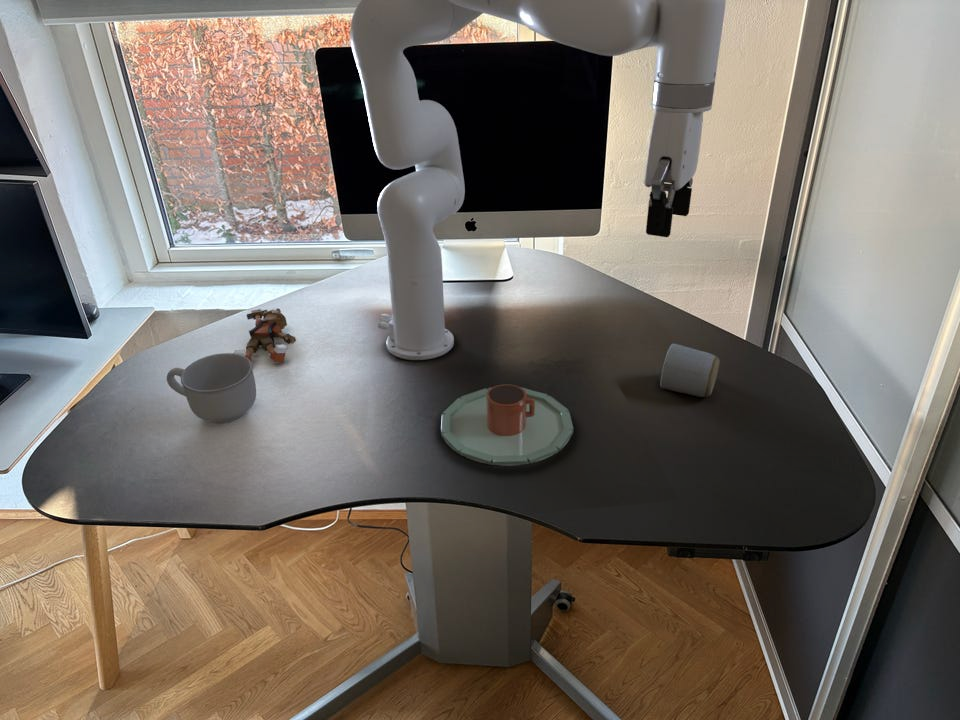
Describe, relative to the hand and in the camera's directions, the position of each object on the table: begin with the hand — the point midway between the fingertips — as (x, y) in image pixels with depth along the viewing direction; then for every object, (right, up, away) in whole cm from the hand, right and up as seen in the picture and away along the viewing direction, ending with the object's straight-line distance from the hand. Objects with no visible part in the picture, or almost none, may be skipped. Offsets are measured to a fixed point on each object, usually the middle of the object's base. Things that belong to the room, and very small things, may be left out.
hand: (667, 224), depth 101 cm
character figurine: (-66, -16, +36) cm, 77 cm away
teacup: (-69, -27, +16) cm, 76 cm away
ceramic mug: (+8, -24, +20) cm, 32 cm away
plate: (-22, -30, +10) cm, 38 cm away
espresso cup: (-22, -29, +9) cm, 38 cm away
